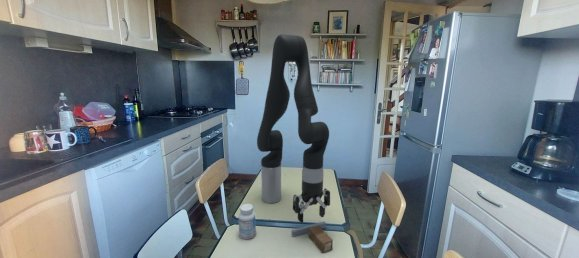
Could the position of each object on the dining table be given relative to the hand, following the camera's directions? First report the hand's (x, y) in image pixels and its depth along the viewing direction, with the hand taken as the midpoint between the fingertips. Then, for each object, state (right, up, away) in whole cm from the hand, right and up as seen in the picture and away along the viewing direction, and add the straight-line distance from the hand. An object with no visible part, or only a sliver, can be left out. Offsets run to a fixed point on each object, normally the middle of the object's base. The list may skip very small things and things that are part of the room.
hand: (311, 218), depth 90 cm
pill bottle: (-24, -6, 0) cm, 24 cm away
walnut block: (+1, -5, 0) cm, 5 cm away
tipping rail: (-1, -6, +3) cm, 6 cm away
